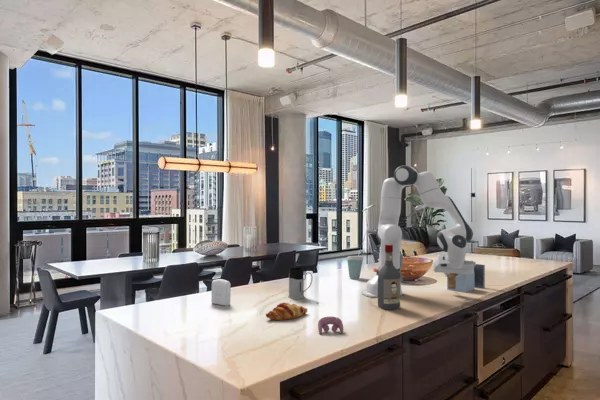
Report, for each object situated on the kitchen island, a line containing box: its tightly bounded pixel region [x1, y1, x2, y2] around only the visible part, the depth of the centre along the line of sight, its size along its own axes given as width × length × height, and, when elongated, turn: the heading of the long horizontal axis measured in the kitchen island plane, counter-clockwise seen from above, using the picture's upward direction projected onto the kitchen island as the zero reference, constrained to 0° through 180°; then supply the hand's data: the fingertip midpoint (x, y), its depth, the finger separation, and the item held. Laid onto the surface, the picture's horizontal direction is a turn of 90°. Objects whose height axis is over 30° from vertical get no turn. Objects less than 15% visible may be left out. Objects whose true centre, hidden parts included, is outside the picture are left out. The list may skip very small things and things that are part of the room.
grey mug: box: [288, 267, 313, 300], centre depth 228 cm, size 9×14×15 cm, turn 59°
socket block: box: [446, 273, 475, 293], centre depth 246 cm, size 11×11×10 cm
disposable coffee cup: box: [346, 255, 364, 280], centre depth 284 cm, size 11×11×15 cm
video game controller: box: [317, 315, 344, 335], centre depth 169 cm, size 10×5×7 cm, turn 93°
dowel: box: [448, 273, 456, 289], centre depth 232 cm, size 4×4×12 cm
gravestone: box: [210, 278, 232, 307], centre depth 214 cm, size 10×4×12 cm, turn 60°
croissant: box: [265, 302, 308, 321], centre depth 190 cm, size 21×10×8 cm, turn 125°
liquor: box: [377, 245, 401, 311], centre depth 207 cm, size 9×9×30 cm
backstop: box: [474, 263, 486, 289], centre depth 249 cm, size 20×16×14 cm
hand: (451, 276), depth 233 cm, fingers closed on dowel, 4 cm apart
